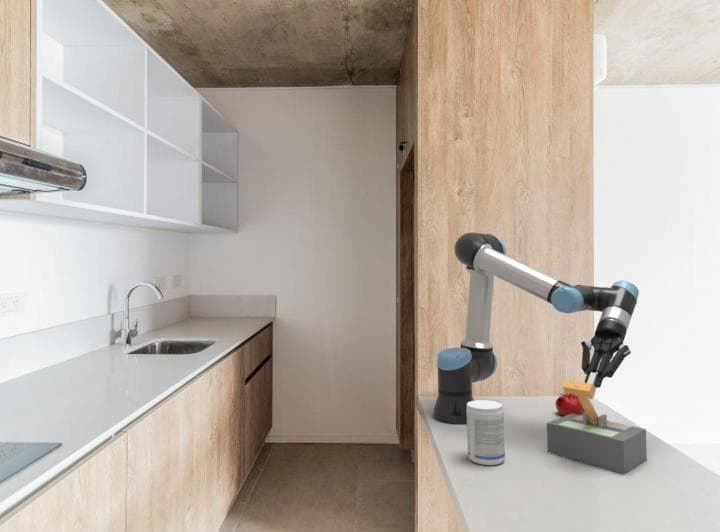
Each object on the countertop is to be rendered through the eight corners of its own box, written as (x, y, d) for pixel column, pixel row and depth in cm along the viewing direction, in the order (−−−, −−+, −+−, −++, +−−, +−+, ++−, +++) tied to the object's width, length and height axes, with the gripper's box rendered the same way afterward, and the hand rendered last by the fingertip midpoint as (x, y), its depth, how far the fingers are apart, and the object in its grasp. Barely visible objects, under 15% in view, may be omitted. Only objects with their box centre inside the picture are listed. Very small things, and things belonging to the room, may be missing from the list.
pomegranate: (588, 413, 168) (587, 387, 168) (584, 421, 160) (583, 393, 160) (558, 410, 173) (557, 384, 174) (553, 416, 165) (552, 389, 165)
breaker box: (547, 452, 132) (546, 411, 132) (572, 440, 141) (571, 402, 141) (624, 474, 116) (622, 428, 117) (646, 459, 125) (645, 416, 125)
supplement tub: (512, 461, 126) (511, 405, 126) (487, 469, 120) (486, 411, 121) (484, 450, 134) (483, 397, 134) (460, 457, 129) (458, 403, 129)
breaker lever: (581, 423, 131) (562, 386, 125) (584, 416, 132) (565, 379, 126) (608, 429, 126) (588, 390, 120) (611, 422, 127) (592, 383, 121)
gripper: (641, 336, 134) (618, 408, 123) (594, 333, 144) (569, 399, 132) (632, 319, 130) (609, 391, 119) (585, 317, 140) (559, 383, 129)
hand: (588, 395), depth 126 cm, fingers closed
